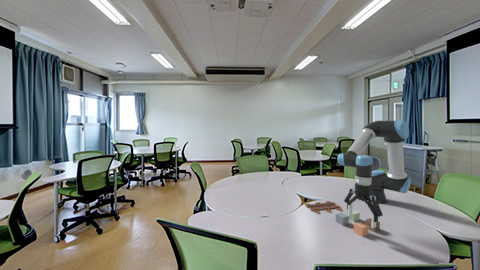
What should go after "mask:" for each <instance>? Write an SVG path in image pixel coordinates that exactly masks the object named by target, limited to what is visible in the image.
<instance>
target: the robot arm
mask: <svg viewBox="0 0 480 270" xmlns="http://www.w3.org/2000/svg"><path fill="white" fill-rule="evenodd" d="M409 136H410V129H409V124H408V123H407V122H406V121H404V120H398V119H397V120H376V121H372V122H370V123H367V124H366V125H365V126H363V127H362V129H361V130H360V131H359V135H358V136H357V138H356V139H355V140H354V141H353V143H352V144H351V146H350V147H349V148H348V149H347V151H346V152H345V153H339V154H338V156H337V158H336V159H337V164H339V166H344V167H348V168H354V169H355V174H354V175H355V176H354V177H355V179H354V182H355V183H354V188H350V189H349V191H348V194H347V195H346V196H345V198H344V200H343V202H344V203H346V209H347V211H348V216H352V210H353V206H354V205H353V203H354V202H355V201H357V200H358V201H362V202H365V203H364V204H366V205H367V207H368V209H369V210H370V211H371V213H372V215H371V218H372V224H371V228H375V227H376V222H378V221H379V218H380V217H383V216H384V215H383V212H382V209H381V207H380V205H379V204H385V203H387V195H386V193H385V190H388V191H392V192H398V193H402V194H407V193H408V192H409V190H410V187H411V184H412V183H411V182H412V178H411V177H409V176H408V173H407V172H406V171H405V159H404V142H405V141H406V140H407V139H408V138H409ZM375 138H383V141H384V142H385V143H386V145H387V147H386V148H387V149H386V150H387V162H388V171H387V172H386V171H385V170H383V169H380V168H381V167H382V161H381V159H379V158H378V157H376V156H371V155H367V154H363V152H364V151H365V149H366V148H367V147H368V145H369V144H370V142H371V141H373V140H374V139H375ZM354 194H355V195H354ZM353 195H354V196H353Z"/></svg>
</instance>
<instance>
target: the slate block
mask: <svg viewBox="0 0 480 270" xmlns="http://www.w3.org/2000/svg"><path fill="white" fill-rule="evenodd" d="M335 222H336V223H337V224H339V225H340V226H343V227H344V226H345V225H349V222H350V221H349V216H348V215H347V213H343V212H339V213H336V214H335Z"/></svg>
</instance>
